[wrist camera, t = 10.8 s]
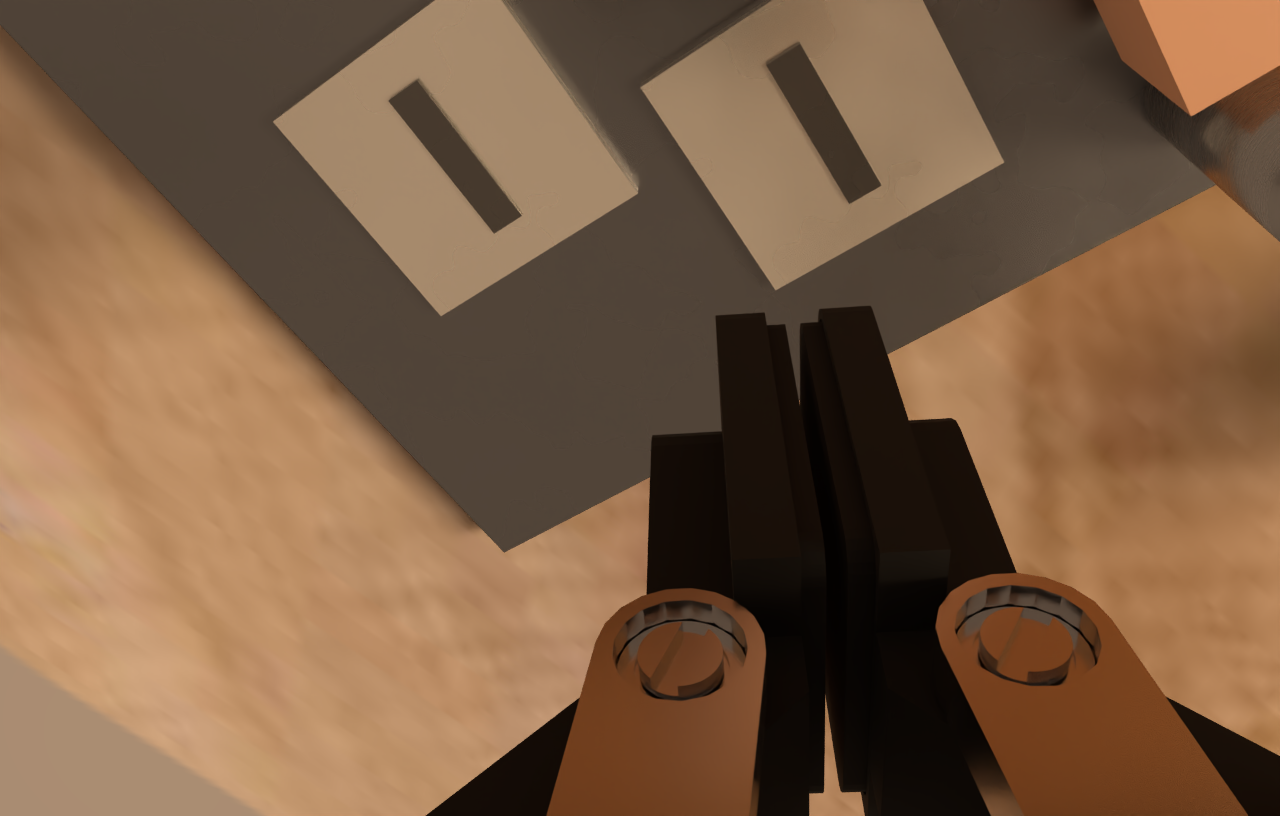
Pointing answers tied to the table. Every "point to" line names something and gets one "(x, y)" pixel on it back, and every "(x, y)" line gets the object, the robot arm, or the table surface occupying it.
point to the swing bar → (1195, 44)
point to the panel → (626, 190)
